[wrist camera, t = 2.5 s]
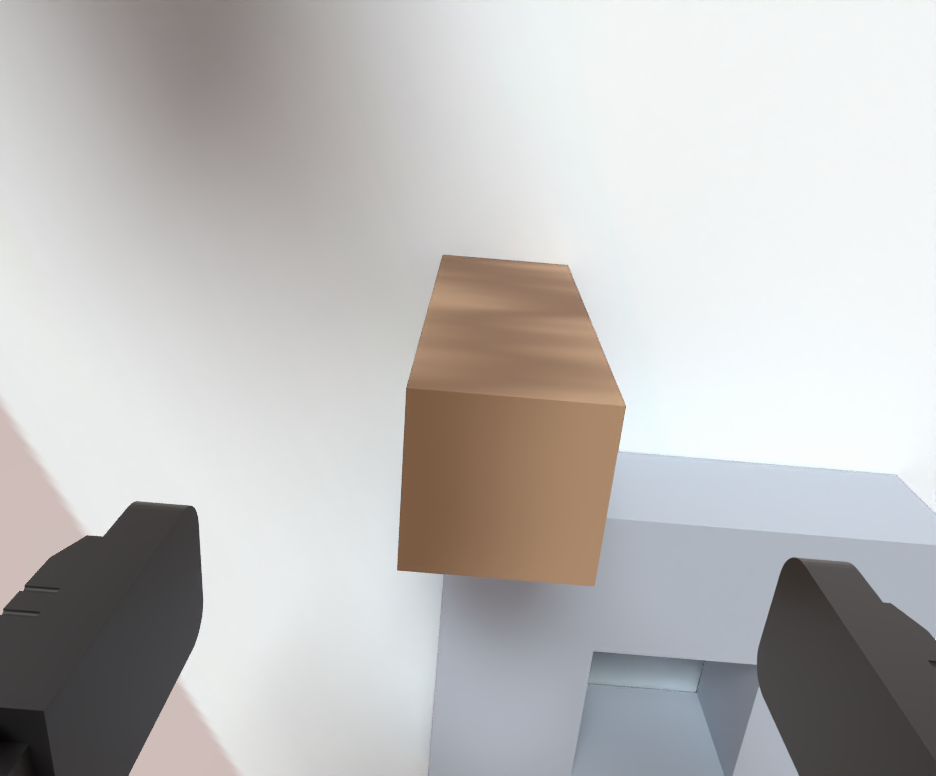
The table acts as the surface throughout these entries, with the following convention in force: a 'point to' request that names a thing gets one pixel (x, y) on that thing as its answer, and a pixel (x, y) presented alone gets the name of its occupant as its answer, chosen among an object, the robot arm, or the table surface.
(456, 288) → the walnut peg
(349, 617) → the table surface
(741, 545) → the socket block
